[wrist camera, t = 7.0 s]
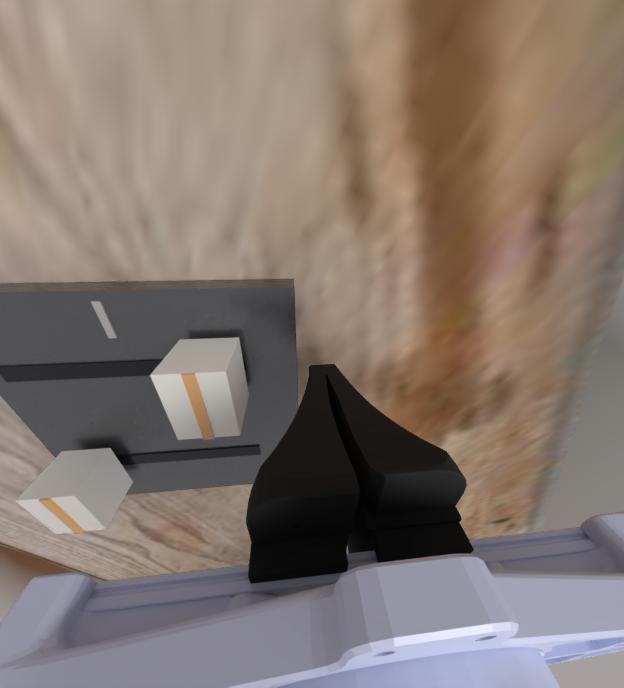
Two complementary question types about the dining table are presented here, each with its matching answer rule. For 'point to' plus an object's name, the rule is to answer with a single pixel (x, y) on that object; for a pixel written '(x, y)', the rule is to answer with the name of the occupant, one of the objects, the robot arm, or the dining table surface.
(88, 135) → the dining table surface
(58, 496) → the fader far
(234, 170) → the dining table surface
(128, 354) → the fader console
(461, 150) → the dining table surface
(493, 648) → the robot arm
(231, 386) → the fader near
